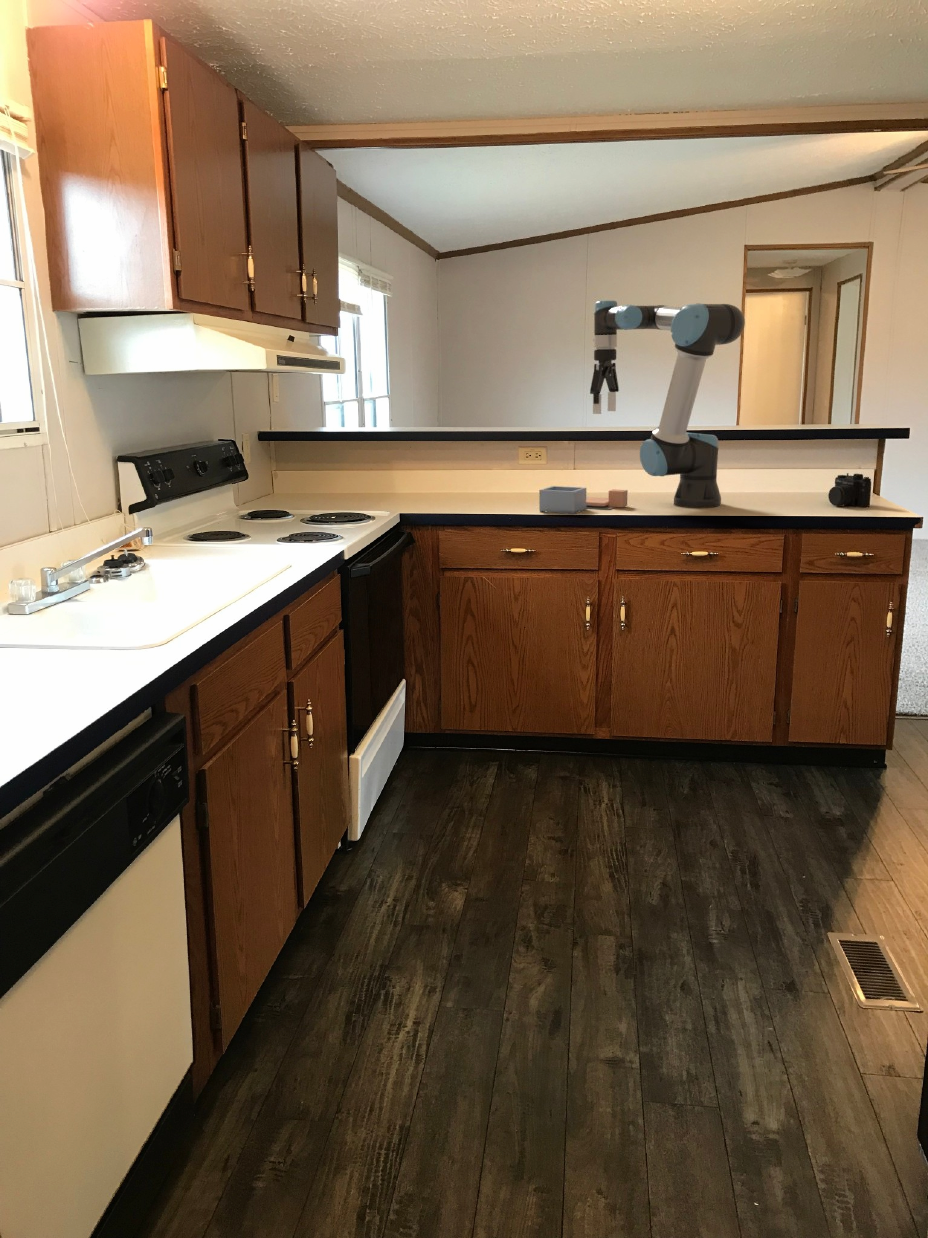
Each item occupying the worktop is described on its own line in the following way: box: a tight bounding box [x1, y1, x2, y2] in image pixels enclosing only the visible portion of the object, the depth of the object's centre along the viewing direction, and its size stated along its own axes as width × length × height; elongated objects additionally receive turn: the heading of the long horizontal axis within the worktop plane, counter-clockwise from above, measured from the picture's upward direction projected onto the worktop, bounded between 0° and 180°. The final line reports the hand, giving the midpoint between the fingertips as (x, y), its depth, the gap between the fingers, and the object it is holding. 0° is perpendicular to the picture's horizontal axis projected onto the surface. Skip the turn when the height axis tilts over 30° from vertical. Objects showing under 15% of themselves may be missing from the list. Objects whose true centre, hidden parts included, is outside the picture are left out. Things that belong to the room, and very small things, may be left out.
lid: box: [586, 489, 629, 508], centre depth 326 cm, size 18×11×5 cm, turn 61°
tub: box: [538, 485, 587, 515], centre depth 318 cm, size 12×10×7 cm
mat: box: [586, 505, 617, 511], centre depth 328 cm, size 17×13×1 cm
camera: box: [827, 472, 872, 509], centre depth 316 cm, size 14×11×10 cm
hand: (604, 412), depth 341 cm, fingers open, 13 cm apart
